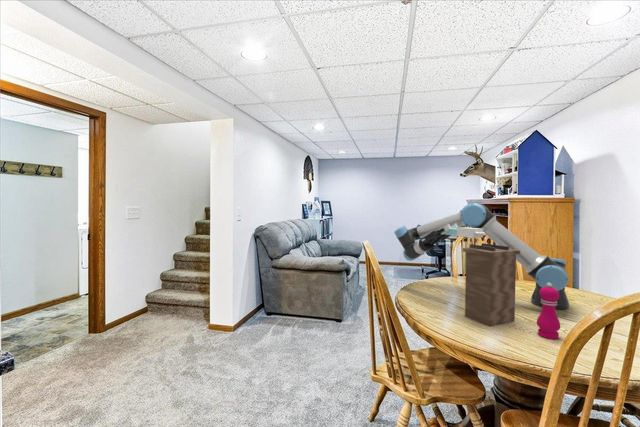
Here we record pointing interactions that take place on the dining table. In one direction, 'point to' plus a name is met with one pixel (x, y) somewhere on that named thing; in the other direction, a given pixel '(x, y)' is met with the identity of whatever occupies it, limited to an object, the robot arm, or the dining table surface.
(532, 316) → the dining table surface
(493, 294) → the wood-grain storage bin
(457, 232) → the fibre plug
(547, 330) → the pepper mill
